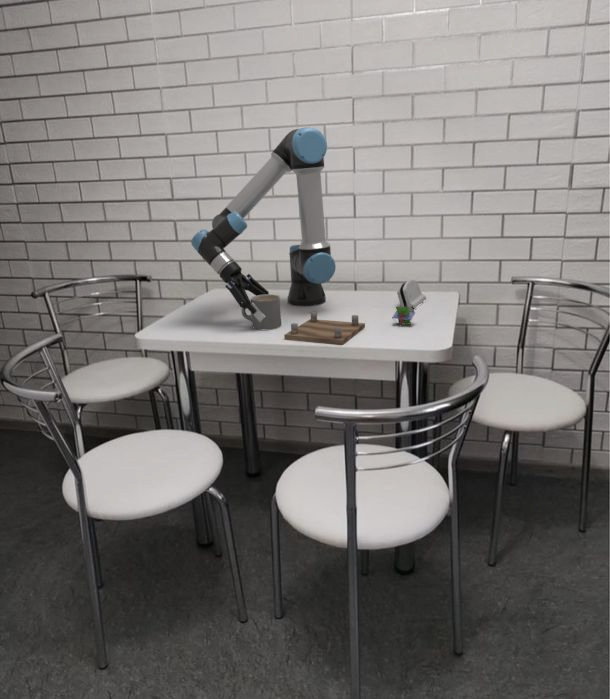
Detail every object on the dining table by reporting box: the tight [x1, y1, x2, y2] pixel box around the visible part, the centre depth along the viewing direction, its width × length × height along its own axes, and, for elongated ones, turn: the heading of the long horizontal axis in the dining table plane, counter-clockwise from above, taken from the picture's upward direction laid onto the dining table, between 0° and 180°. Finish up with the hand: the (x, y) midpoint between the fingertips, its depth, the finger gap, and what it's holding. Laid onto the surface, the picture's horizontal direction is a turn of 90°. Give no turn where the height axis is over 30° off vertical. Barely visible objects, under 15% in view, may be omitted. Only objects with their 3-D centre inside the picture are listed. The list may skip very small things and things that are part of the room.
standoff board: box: [284, 311, 366, 346], centre depth 197 cm, size 20×20×4 cm
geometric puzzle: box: [391, 305, 416, 326], centre depth 202 cm, size 7×7×8 cm
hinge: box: [396, 279, 427, 310], centre depth 229 cm, size 17×5×10 cm, turn 154°
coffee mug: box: [241, 293, 282, 330], centre depth 209 cm, size 13×10×10 cm
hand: (269, 315), depth 208 cm, fingers closed on coffee mug, 9 cm apart
